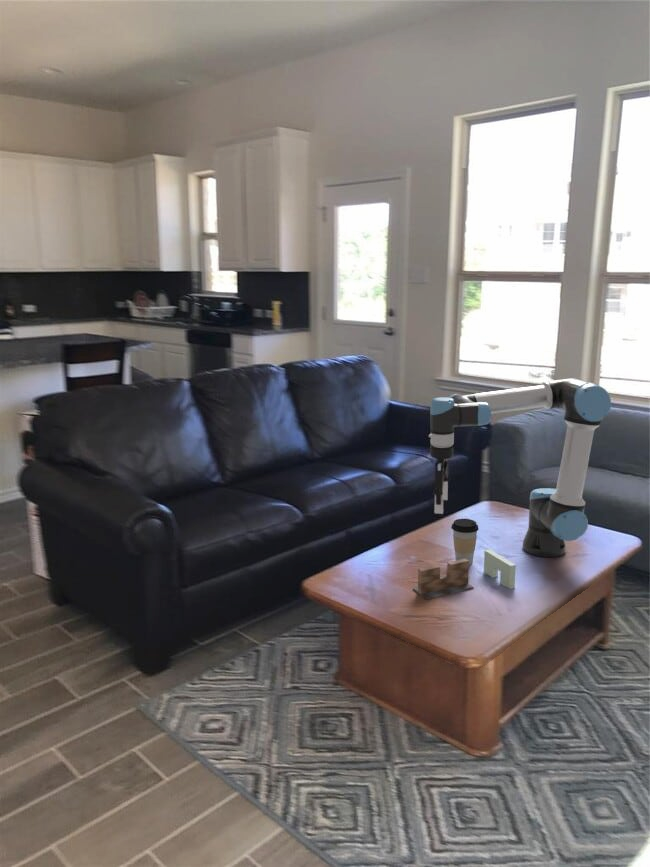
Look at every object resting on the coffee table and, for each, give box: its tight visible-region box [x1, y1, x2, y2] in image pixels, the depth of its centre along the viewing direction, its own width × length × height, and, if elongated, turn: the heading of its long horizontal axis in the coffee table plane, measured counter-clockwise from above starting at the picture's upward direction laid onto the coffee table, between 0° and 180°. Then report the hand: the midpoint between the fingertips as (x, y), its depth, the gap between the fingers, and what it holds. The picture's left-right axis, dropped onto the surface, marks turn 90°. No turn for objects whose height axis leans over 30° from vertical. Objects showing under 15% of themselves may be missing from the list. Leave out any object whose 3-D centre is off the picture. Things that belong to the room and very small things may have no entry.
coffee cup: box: [450, 518, 479, 566], centre depth 245 cm, size 9×9×15 cm
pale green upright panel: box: [483, 549, 517, 590], centre depth 232 cm, size 14×2×8 cm, turn 23°
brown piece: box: [412, 559, 474, 601], centre depth 226 cm, size 18×8×9 cm, turn 113°
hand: (441, 506), depth 232 cm, fingers open, 13 cm apart
